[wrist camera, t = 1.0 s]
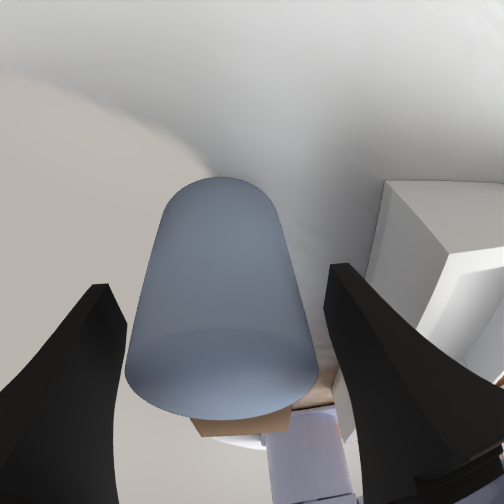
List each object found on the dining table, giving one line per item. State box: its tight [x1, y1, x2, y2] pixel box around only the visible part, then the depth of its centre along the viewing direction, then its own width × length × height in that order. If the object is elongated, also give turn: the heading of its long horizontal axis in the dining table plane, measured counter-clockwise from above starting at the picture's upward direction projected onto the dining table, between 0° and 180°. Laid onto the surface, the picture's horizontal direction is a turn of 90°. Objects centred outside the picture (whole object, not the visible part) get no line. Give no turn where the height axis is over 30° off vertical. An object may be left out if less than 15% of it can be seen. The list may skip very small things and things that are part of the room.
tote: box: [331, 180, 504, 444], centre depth 16 cm, size 18×14×5 cm
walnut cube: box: [189, 404, 292, 437], centre depth 16 cm, size 5×5×5 cm
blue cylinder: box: [125, 177, 319, 420], centre depth 10 cm, size 5×5×7 cm
